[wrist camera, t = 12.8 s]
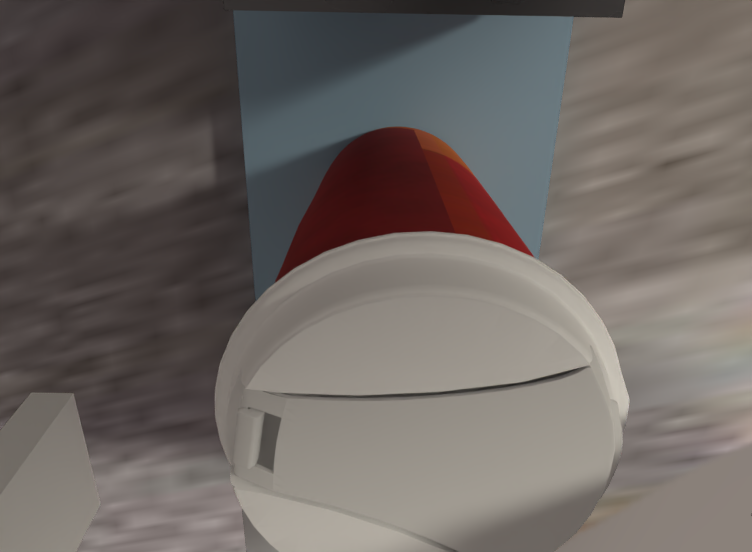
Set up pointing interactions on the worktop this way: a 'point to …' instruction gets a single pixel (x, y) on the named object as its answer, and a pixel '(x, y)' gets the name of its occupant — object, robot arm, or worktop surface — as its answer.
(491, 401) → the coffee cup
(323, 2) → the block
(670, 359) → the worktop surface
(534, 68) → the base
